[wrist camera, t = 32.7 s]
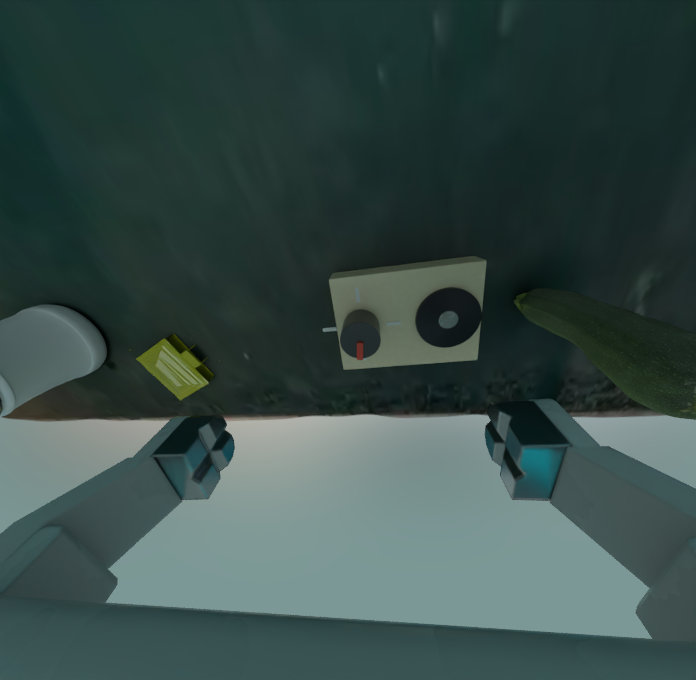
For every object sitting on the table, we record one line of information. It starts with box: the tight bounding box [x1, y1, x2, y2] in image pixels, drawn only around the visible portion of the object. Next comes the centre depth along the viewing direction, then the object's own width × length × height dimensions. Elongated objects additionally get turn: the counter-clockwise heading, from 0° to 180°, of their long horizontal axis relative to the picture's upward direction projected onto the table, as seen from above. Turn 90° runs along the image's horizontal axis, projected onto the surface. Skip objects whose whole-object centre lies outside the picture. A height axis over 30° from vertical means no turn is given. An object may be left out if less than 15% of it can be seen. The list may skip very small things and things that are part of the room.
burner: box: [415, 287, 482, 348], centre depth 24 cm, size 6×6×1 cm
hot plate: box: [323, 256, 487, 370], centre depth 26 cm, size 15×10×3 cm, turn 98°
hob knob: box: [340, 309, 381, 360], centre depth 24 cm, size 4×4×4 cm
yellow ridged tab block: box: [130, 316, 215, 403], centre depth 32 cm, size 10×9×3 cm
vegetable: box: [514, 288, 696, 420], centre depth 17 cm, size 4×4×20 cm
